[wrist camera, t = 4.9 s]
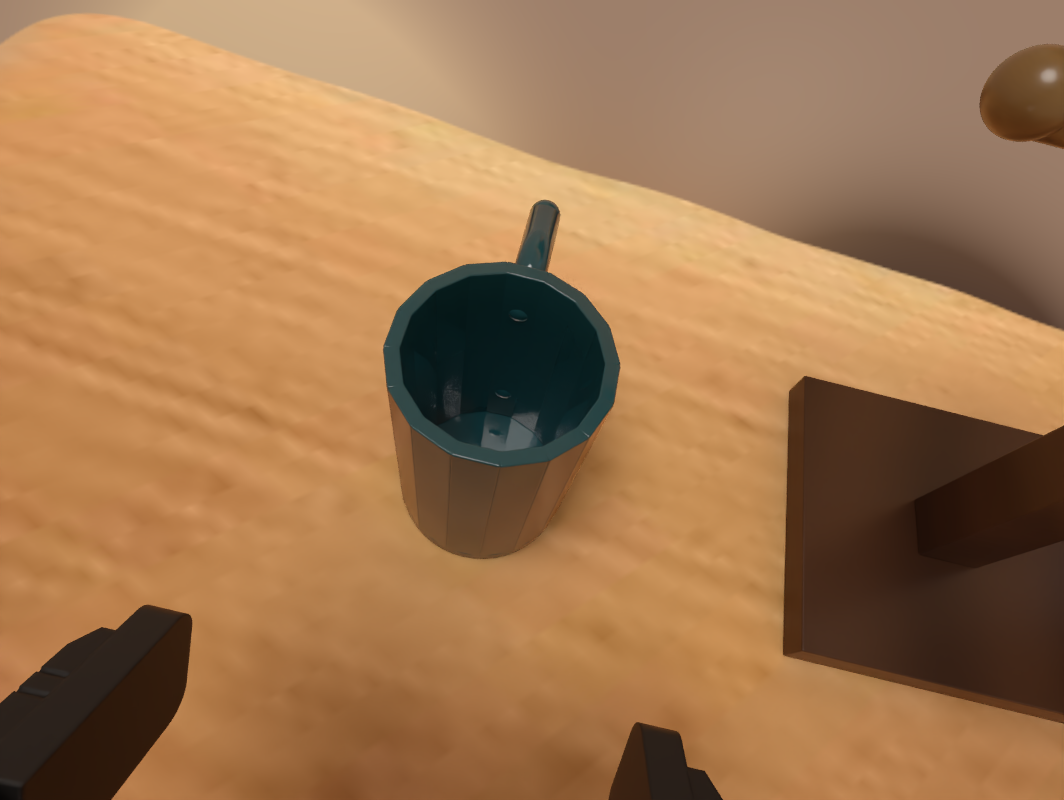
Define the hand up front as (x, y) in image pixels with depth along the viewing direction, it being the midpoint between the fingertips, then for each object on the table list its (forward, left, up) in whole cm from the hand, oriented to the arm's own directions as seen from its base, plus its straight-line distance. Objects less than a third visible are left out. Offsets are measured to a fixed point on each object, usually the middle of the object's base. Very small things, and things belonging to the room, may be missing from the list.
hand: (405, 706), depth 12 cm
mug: (-6, -10, -13) cm, 17 cm away
